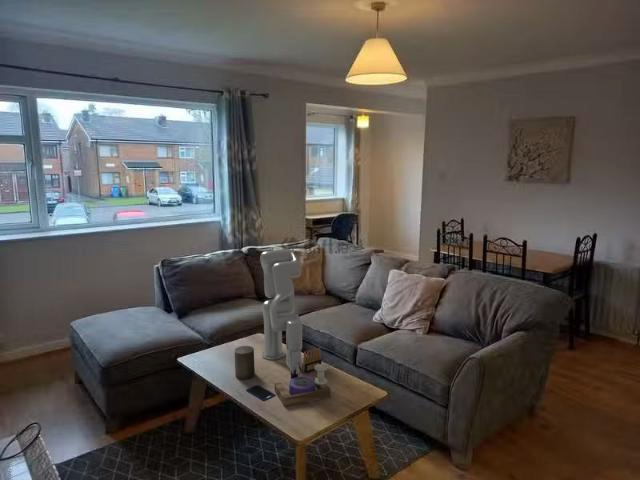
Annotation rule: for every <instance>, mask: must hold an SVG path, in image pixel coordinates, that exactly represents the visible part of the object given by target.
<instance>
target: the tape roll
mask: <svg viewBox="0 0 640 480" xmlns="http://www.w3.org/2000/svg"><path fill="white" fill-rule="evenodd" d="M311 391H315V386H314V380H313V378H312V377H309V376H298V377H295V378H292V379H291V378H290V380H289V381H288V394H289V395H290V396H292V395H296V394H301V393H306V392H311Z"/></svg>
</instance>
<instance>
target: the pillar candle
mask: <svg viewBox="0 0 640 480" xmlns="http://www.w3.org/2000/svg"><path fill="white" fill-rule="evenodd" d="M233 351H234V352H233V353H234V370H235V372H234V373H235V374H234V375H235V378H237V379H238V380H250V379H252V378H254V377H255V375H256V373H255V371H256V370H255V349H254V347H253V346H249V345H241V346H238V347H235V349H234V350H233Z"/></svg>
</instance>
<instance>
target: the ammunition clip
mask: <svg viewBox="0 0 640 480" xmlns="http://www.w3.org/2000/svg"><path fill="white" fill-rule="evenodd" d="M317 364H322V355H321V347H320V346H318V348H317V347H315V348H312V349H311V348H310V349H309V350H308V349H307V350H304V352H303V358H302V374H304V375H305V374H309V373H312V372H315V369H314V367H315V365H317Z"/></svg>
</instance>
